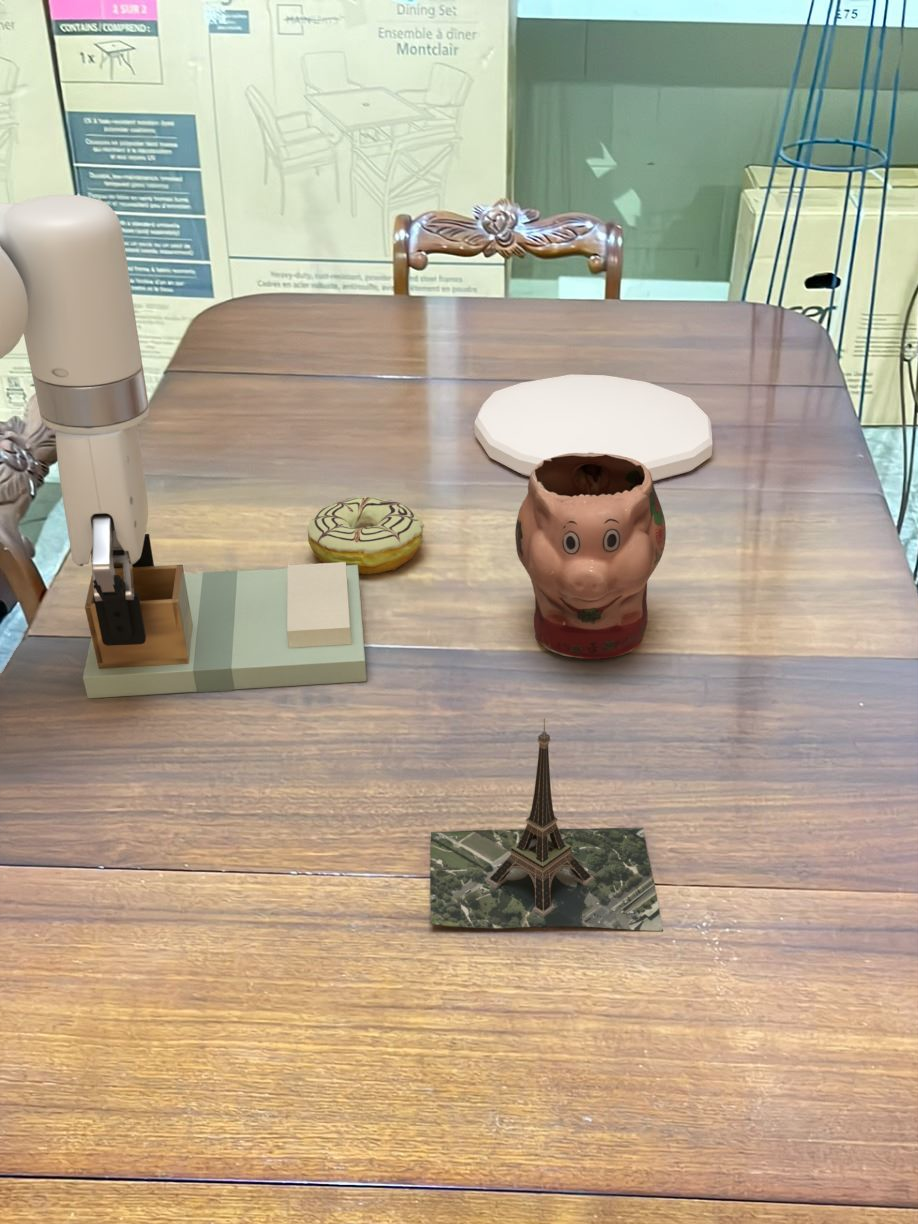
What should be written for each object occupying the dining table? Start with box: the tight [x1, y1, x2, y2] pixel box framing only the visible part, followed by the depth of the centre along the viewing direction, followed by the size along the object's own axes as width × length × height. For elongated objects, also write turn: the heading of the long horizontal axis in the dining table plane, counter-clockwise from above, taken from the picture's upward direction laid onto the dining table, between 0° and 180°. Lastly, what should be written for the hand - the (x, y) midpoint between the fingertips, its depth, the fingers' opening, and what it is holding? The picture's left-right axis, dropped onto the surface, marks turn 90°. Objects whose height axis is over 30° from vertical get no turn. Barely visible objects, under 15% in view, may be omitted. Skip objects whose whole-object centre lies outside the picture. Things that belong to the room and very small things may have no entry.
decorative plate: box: [474, 373, 714, 482], centre depth 144 cm, size 25×4×25 cm
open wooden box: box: [84, 564, 193, 669], centre depth 107 cm, size 7×6×6 cm
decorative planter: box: [514, 453, 667, 659], centre depth 112 cm, size 20×12×14 cm, turn 3°
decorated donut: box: [307, 496, 425, 575], centre depth 124 cm, size 10×11×4 cm
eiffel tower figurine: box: [429, 718, 664, 932], centre depth 86 cm, size 15×10×13 cm
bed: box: [82, 562, 368, 699], centre depth 113 cm, size 22×16×4 cm
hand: (130, 611), depth 107 cm, fingers open, 9 cm apart
